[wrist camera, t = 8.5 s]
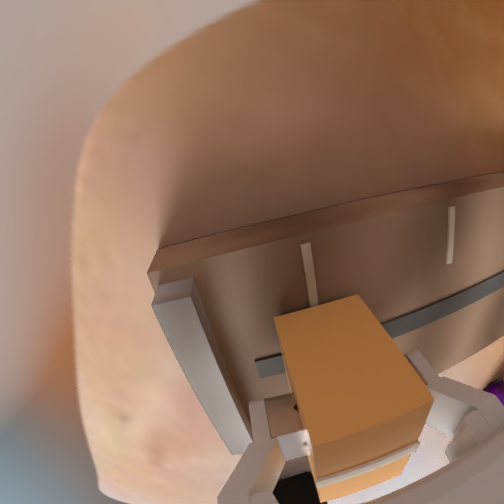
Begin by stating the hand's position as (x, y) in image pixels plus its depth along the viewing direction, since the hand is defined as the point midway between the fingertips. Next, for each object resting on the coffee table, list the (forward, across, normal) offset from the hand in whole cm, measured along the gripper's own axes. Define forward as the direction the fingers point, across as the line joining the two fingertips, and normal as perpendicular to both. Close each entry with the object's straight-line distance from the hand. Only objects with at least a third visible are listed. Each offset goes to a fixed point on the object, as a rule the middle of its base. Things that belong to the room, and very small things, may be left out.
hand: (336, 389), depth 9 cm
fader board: (+4, -6, 0) cm, 7 cm away
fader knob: (+2, 0, 0) cm, 2 cm away
